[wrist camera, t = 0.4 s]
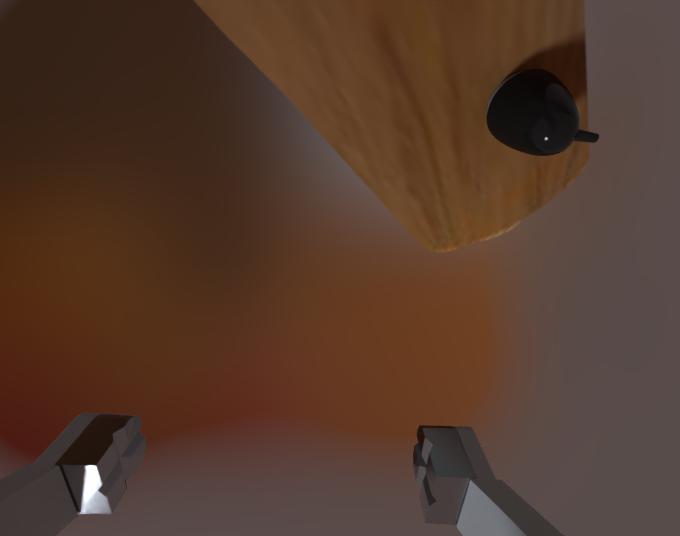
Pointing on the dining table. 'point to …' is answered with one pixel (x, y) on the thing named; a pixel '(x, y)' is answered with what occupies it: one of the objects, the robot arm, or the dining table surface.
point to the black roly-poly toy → (535, 114)
